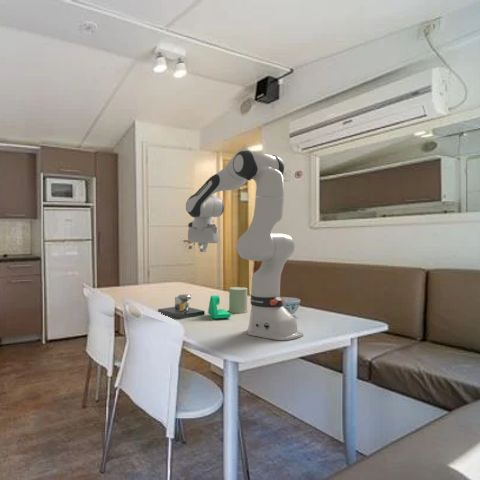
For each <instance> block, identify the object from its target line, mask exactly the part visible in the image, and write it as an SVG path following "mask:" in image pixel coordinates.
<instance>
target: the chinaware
mask: <svg viewBox="0 0 480 480" xmlns="http://www.w3.org/2000/svg"><path fill="white" fill-rule="evenodd" d="M281 298H282V299H285V300H283V301H285V302H283V306H284V307H285V309H286V310H287V311H288V312H289V313H290V314H291V315H293V314H295V312H297V311H298V309H299V307H300V304H301V299H299V298H297V297H290V296H289V297H288V296H287V297H286V296H281Z"/></svg>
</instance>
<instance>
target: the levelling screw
mask: <svg viewBox="0 0 480 480" xmlns="http://www.w3.org/2000/svg"><path fill="white" fill-rule="evenodd" d="M178 296H179V299H181V303H180V311H188V310H189V307H190V300H191V299H192V295H191V294H186V293H185V294H179V295H178Z"/></svg>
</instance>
